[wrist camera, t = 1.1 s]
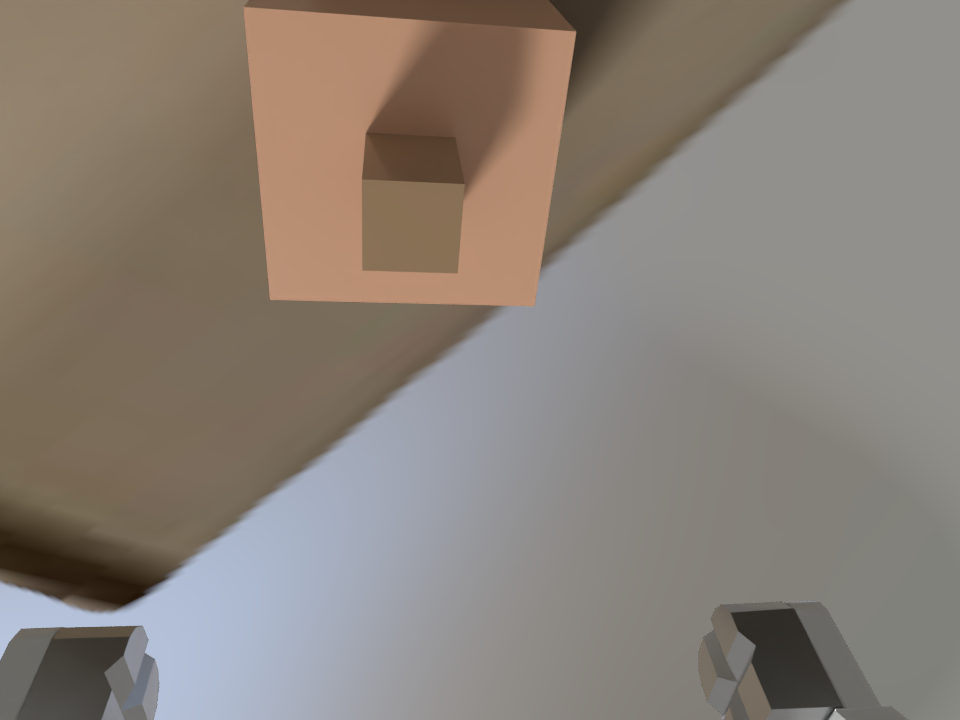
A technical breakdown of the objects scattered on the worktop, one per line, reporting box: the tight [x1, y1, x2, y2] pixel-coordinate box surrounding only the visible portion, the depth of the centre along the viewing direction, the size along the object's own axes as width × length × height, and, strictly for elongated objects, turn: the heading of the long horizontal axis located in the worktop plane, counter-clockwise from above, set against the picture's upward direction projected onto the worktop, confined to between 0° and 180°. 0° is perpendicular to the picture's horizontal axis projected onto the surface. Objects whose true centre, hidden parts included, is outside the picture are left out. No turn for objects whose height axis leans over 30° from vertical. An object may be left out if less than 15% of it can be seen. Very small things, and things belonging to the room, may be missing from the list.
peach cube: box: [244, 0, 576, 306], centre depth 28 cm, size 10×10×15 cm
